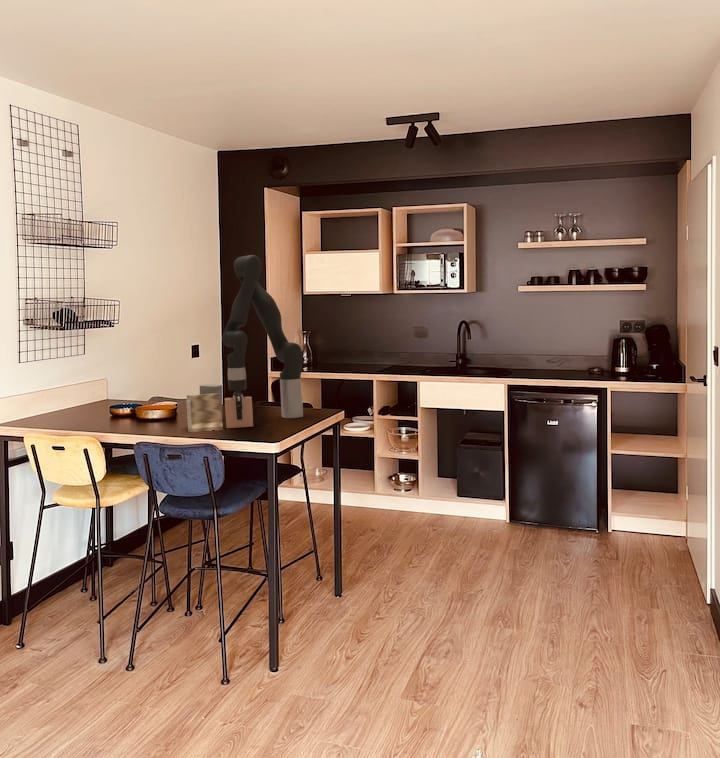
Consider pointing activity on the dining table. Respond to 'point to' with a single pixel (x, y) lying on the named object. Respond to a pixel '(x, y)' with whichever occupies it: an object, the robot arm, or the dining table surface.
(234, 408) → the terracotta book
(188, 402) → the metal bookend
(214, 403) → the plywood shelf
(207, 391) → the skincare box
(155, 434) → the dining table surface
